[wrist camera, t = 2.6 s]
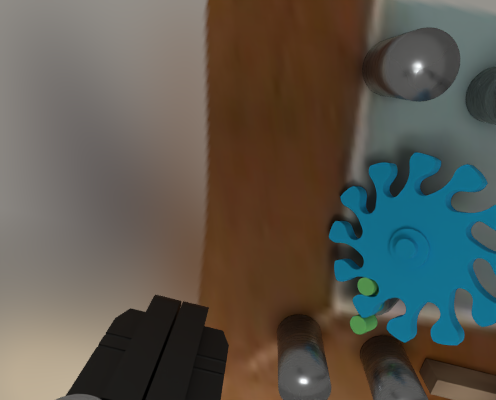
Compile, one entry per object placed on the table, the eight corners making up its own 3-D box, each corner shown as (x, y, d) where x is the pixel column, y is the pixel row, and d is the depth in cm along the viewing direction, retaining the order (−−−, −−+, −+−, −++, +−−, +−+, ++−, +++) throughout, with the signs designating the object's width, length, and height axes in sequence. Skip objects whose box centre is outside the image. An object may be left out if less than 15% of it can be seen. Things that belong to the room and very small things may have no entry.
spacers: (532, 74, 21) (608, 73, 16) (394, 375, 28) (420, 438, 23) (373, 32, 21) (403, 19, 16) (272, 345, 27) (272, 401, 23)
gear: (389, 115, 21) (586, 241, 15) (431, 131, 25) (598, 234, 19) (288, 265, 25) (408, 405, 20) (338, 257, 29) (449, 370, 24)
